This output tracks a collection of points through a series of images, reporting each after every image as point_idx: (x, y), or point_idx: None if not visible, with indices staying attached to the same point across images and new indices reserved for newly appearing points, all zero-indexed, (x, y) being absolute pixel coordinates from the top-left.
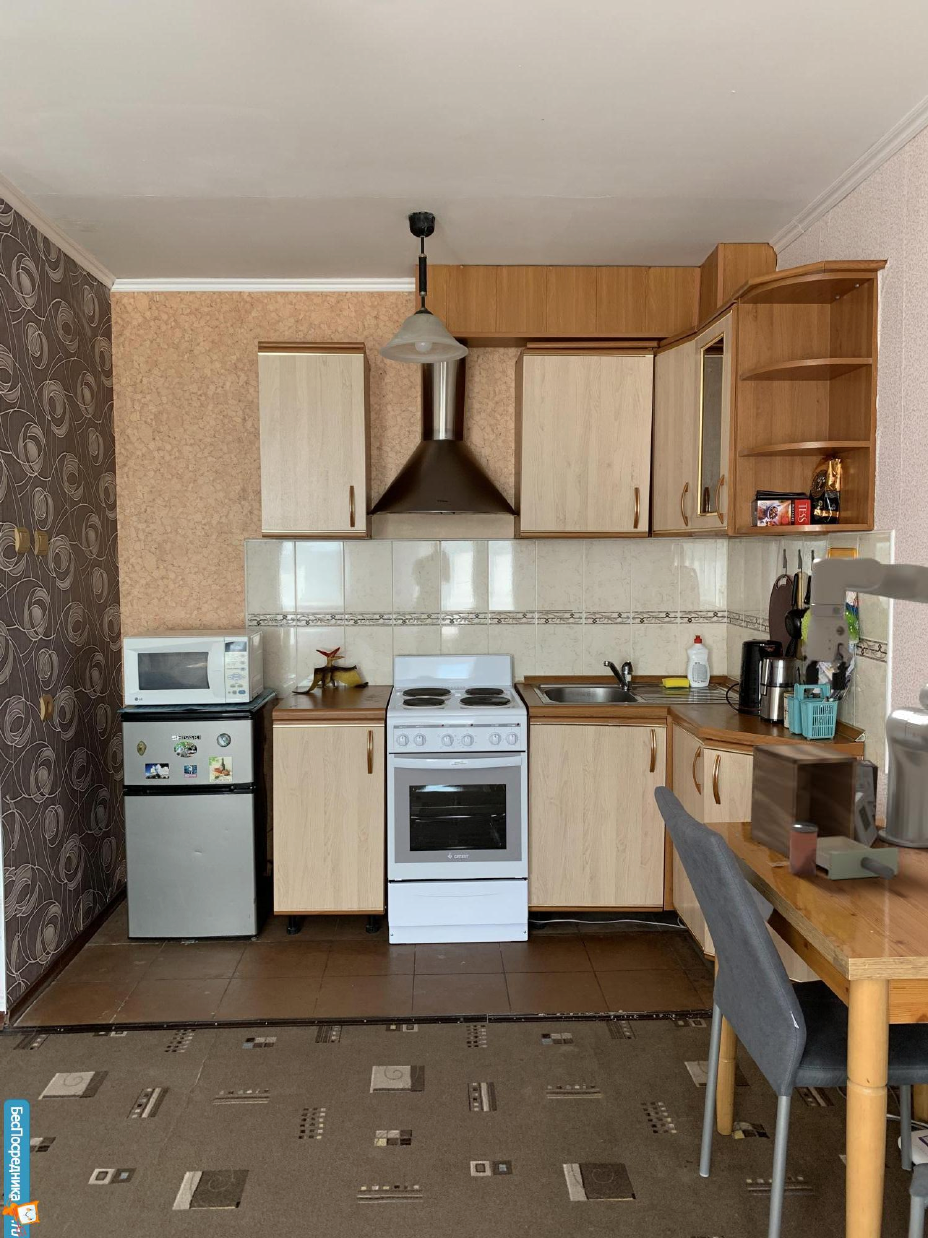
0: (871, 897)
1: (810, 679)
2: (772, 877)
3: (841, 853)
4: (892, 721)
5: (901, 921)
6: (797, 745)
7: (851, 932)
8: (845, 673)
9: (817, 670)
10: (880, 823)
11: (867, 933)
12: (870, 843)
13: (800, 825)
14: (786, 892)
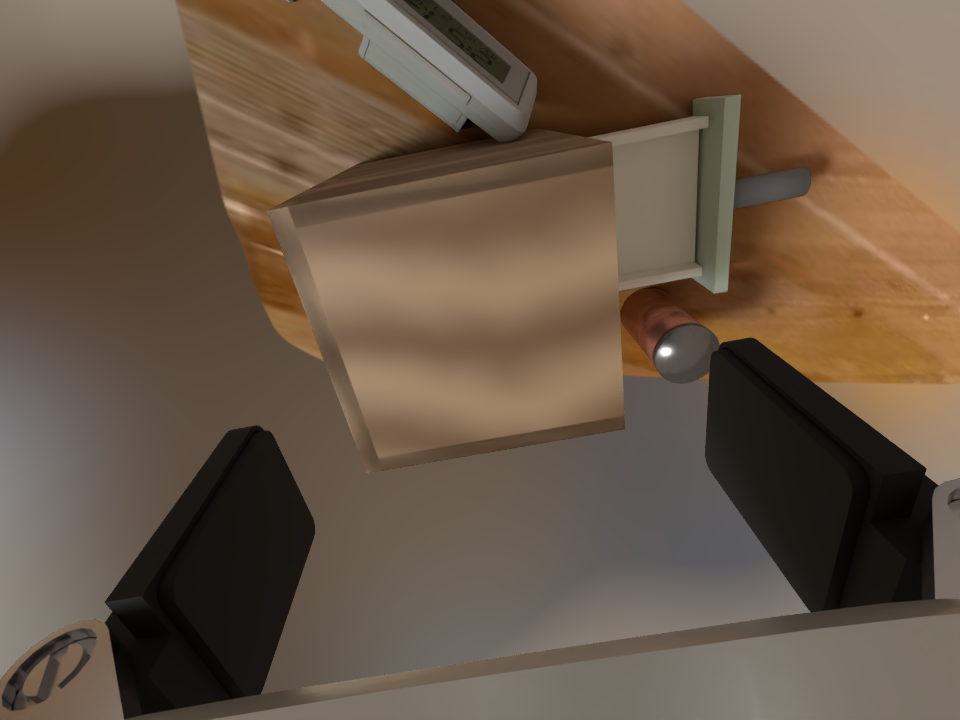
0: (802, 237)
1: (287, 544)
2: (656, 373)
3: (728, 269)
4: None
5: (919, 244)
6: (335, 310)
7: (915, 349)
8: (904, 464)
9: (198, 577)
10: None
11: (929, 327)
12: (504, 48)
13: (686, 364)
14: None
